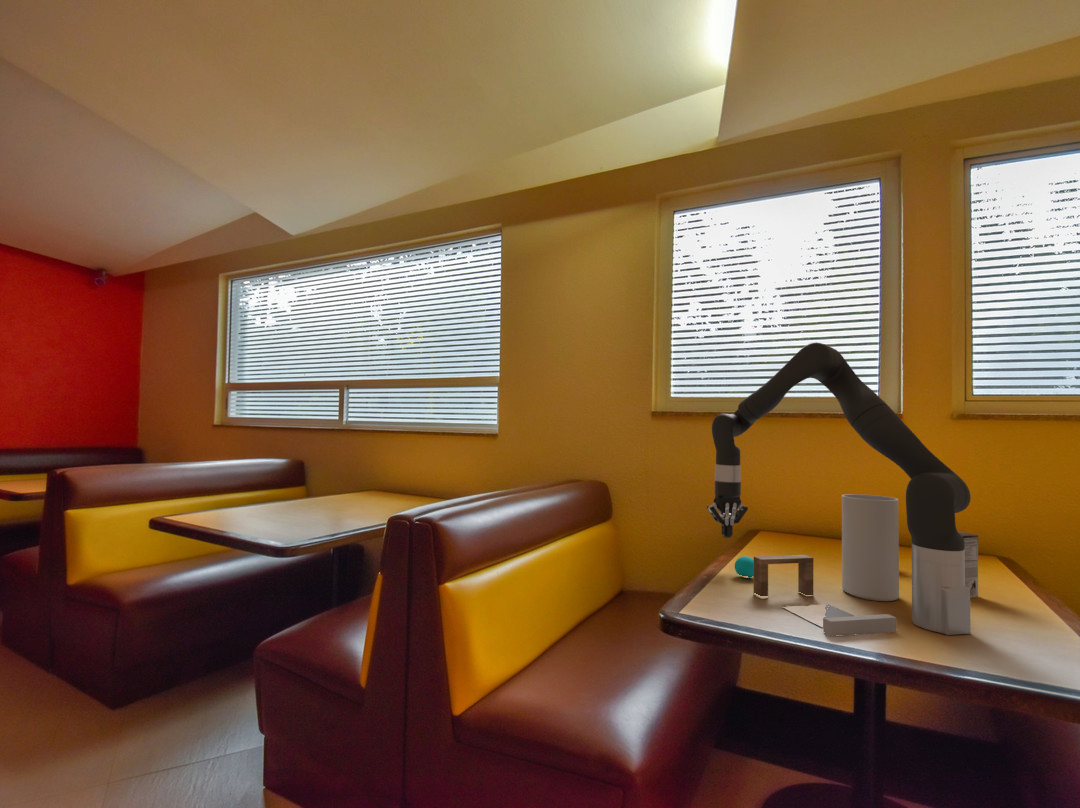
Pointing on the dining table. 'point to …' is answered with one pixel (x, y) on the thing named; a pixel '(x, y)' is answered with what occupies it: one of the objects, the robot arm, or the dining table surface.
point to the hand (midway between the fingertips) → (727, 537)
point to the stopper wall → (859, 625)
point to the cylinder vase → (870, 547)
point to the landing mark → (835, 612)
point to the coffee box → (971, 562)
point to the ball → (745, 566)
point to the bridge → (803, 563)
